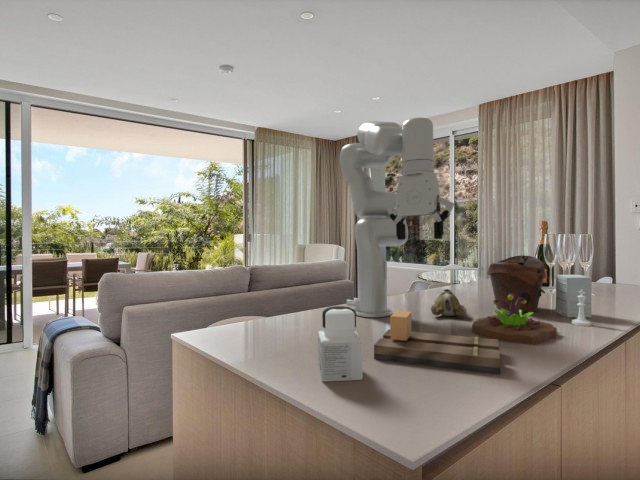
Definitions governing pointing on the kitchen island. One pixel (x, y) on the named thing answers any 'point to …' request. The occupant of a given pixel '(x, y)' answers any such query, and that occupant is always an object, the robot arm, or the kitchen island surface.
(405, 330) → the fader tab
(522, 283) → the brown flower pot
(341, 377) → the container
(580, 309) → the chess piece
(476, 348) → the slider console
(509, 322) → the plant
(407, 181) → the robot arm
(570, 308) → the supplement box
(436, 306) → the ceramic sculpture
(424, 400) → the kitchen island surface
